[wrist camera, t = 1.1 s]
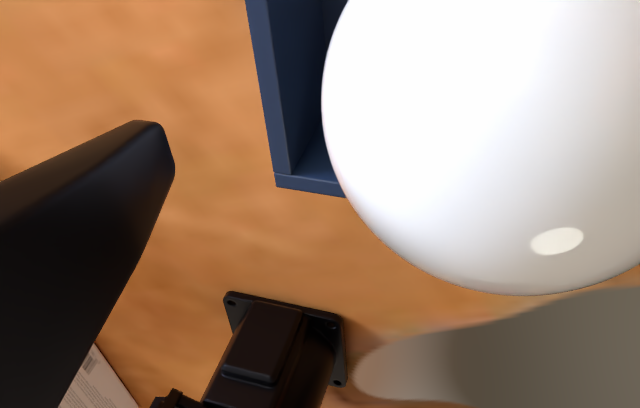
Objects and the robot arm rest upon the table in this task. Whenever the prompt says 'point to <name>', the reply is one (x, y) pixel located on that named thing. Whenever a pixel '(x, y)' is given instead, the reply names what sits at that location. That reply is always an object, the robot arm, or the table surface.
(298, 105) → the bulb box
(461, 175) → the lightbulb
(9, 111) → the table surface
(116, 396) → the ink cartridge box
